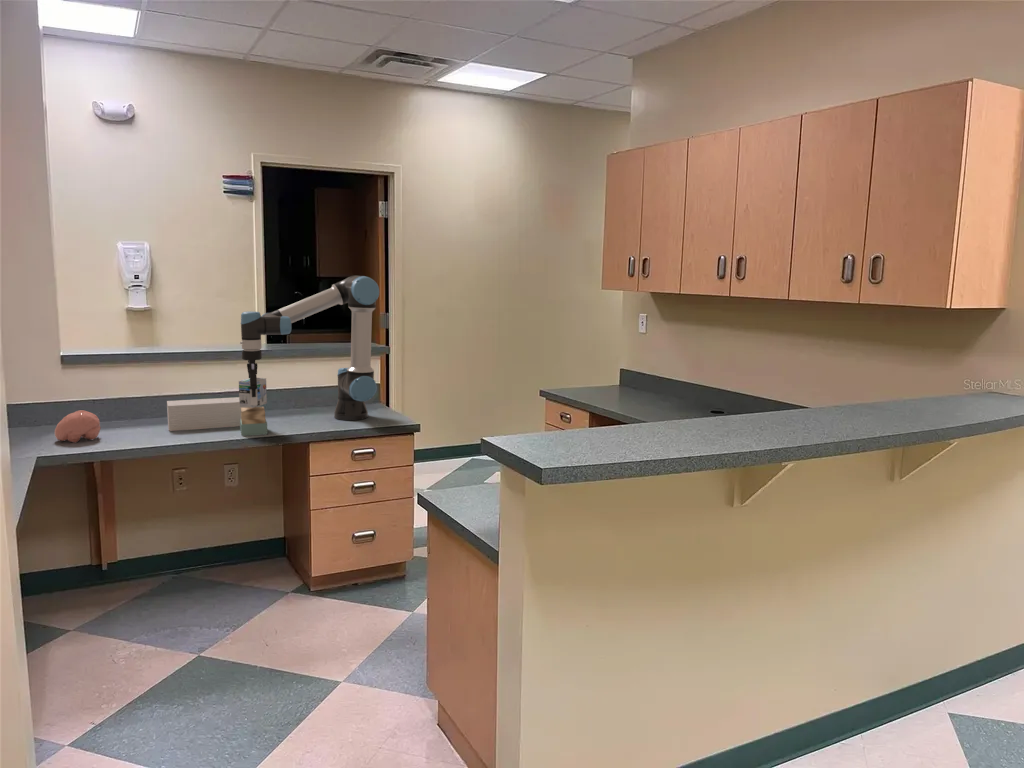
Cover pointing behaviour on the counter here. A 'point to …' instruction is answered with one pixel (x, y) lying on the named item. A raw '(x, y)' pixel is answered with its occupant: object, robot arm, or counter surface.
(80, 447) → the counter surface
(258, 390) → the light bulb box
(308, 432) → the counter surface
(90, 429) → the brain
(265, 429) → the tower base slab
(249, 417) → the tower top block
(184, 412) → the pale grey long block
